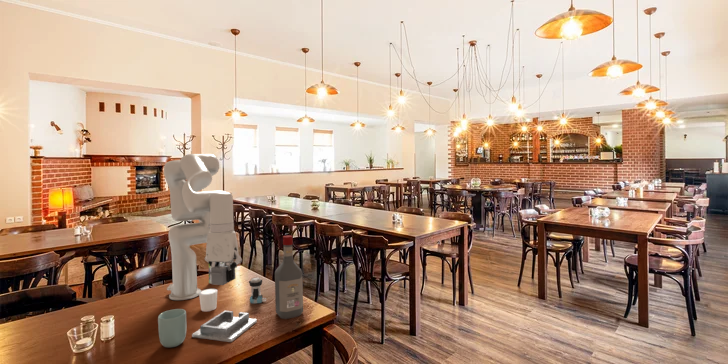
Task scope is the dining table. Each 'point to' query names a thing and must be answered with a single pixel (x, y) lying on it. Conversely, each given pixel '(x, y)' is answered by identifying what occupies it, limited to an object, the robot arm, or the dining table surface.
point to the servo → (219, 274)
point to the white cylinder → (208, 299)
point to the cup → (172, 327)
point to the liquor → (288, 284)
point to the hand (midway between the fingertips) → (223, 279)
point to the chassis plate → (225, 327)
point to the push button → (256, 291)
